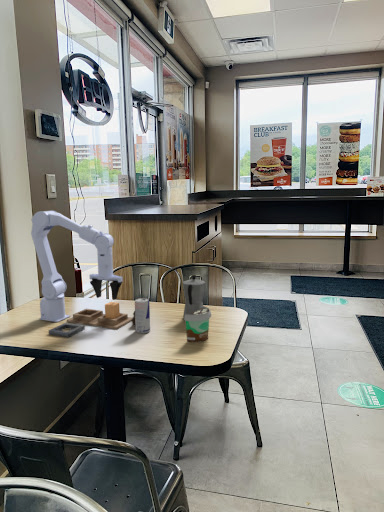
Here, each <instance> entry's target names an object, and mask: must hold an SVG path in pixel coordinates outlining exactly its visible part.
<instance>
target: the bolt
mask: <svg viewBox="0 0 384 512" xmlns="http://www.w3.org/2000/svg"><path fill="white" fill-rule="evenodd" d="M132 315H133V317H132V318H133V319H132V321H131V322H132V325H133V326H134V327H135V328H136V324H135V310H134V311H133V313H132Z"/></svg>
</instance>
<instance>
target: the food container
mask: <svg viewBox="0 0 384 512" xmlns="http://www.w3.org/2000/svg"><path fill="white" fill-rule="evenodd" d="M211 317H212V312H211V309H210V307H207V306H204V305H203V306H202V309H200V310H198V311H194V312H193V313H191V314H190V315H187V314H185V319H184V318H183V321H185V329H186V330H185V333H186V342H190V343H201V342H204V341H207V340H208V339H209V328H210V318H211Z"/></svg>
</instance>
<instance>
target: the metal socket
mask: <svg viewBox="0 0 384 512" xmlns="http://www.w3.org/2000/svg"><path fill="white" fill-rule="evenodd" d="M85 328H86V327H85V325H84V324H77V323H70V322H64V323H62V324H60V325H58V326H56V327H53V328H51V329H48V335H50V336H56V337H57V336H58V337H61V338H62V337H63V338H68V339H69V338H71V337H72V336H75V335H76V334H78V333H81V332H83V331H84V330H85ZM65 329H69V330H68V331H65Z"/></svg>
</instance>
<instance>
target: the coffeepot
mask: <svg viewBox="0 0 384 512" xmlns="http://www.w3.org/2000/svg"><path fill="white" fill-rule="evenodd" d="M196 277H197V275H195V274H192V275H191V279H188V280H185V281H182V286H183V287H182V289H183V294H184V298H185V303H184V309H183V315H182V316H183V320H184V319H185V314H187V315H190V314H191V313H193V312H194V311H198V310H200V309H202V306H204V304H203V299H204V295H205V288H206V281H204V280H202V279H196Z"/></svg>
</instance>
